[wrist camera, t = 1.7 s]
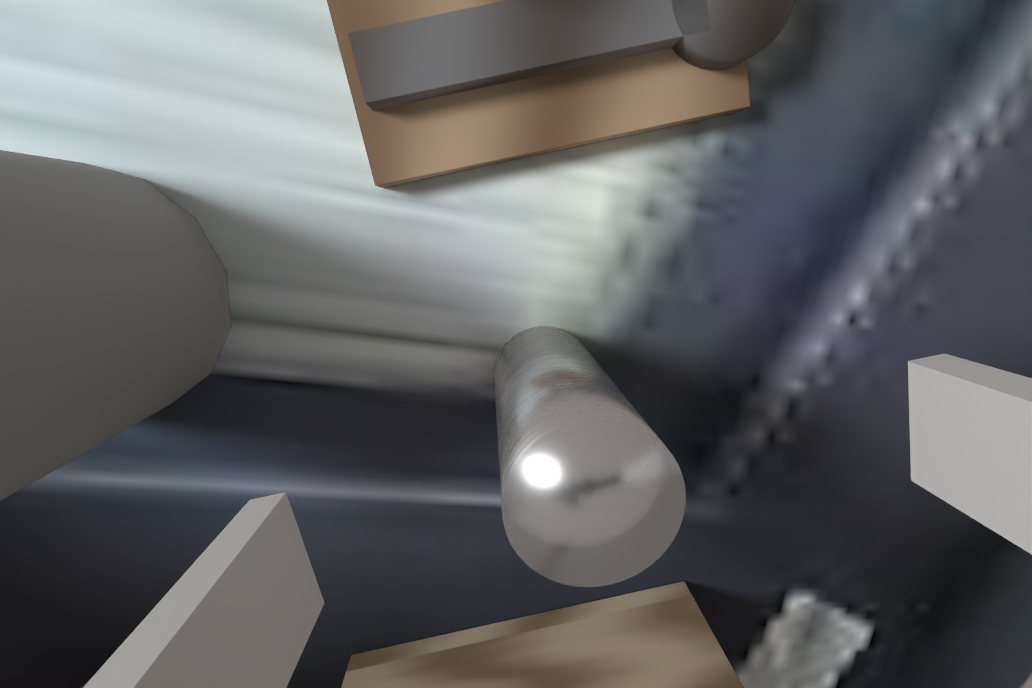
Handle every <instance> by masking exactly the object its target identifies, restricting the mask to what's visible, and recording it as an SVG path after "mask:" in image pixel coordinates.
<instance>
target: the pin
mask: <svg viewBox="0 0 1032 688" xmlns="http://www.w3.org/2000/svg"><path fill="white" fill-rule="evenodd" d="M494 386H495V402H496V419H497V436H498V452H499V469H500V485H501V502H502V517H503V523H504V528H505V531H506V534H507V537H508V539H509V541H510V543H511V545H512V547H513V549H514V550H515V552H516V553H517V554H518V556H519V557H520V558H521V559H522V560H523V561H524V562H525V563H526V564H527V565H528V566H529V567H530V568H532V569H533V570H534V571H536V572H537V573H539V574H540V575H542V576H544V577H546V578H548V579H550V580H552V581H555V582H558V583H562V584H565V585H571V586H578V587H598V586H604V585H610V584H614V583H617V582H621V581H623V580H626V579H628V578H631V577H633V576H635V575H636V574H638V573H640V572H642V571H643V570H645V569H646V568H648V567H649V566H650V565H652V564H653V563H654V562H655V561H656V560H657V559H659V558H660V557H661V555H662V554H663V553H664V552H665V551H666V550H667V549H668V547H669V546H670V544H671V543H672V541H673V540H674V538H675V536H676V534H677V532H678V530H679V528H680V525H681V523H682V520H683V516H684V511H685V503H686V492H685V484H684V479H683V475H682V473H681V470H680V467H679V465H678V463H677V462H676V460H675V458H674V456H673V455H672V454H671V452H670V451H669V450H668V449H667V447H666V446H665V445H664V444H663V442H662V441H661V440H660V439H659V437H658V436H657V435H656V434H655V433H654V431H653V430H652V429H651V428H650V426H649V425H648V424H647V423H646V422H645V420H644V419H643V418H642V417H641V416H640V414H639V413H638V412H637V411H636V409H635V408H634V407H633V406H632V405H631V403H630V402H629V401H628V400H627V398H626V397H625V396H624V395H623V394H622V392H621V391H620V390H619V389H618V387H617V386H616V385H615V384H614V383H613V381H612V380H611V379H610V378H609V376H608V375H607V374H606V373H605V372H604V370H603V369H602V368H601V367H600V365H599V364H598V363H597V362H596V361H595V359H594V358H593V357H592V356H591V354H590V353H589V352H588V351H587V350H586V348H585V347H584V346H583V345H582V344H581V342H580V341H579V340H578V339H577V338H576V337H574V336H573V335H572V334H570V333H568V332H566V331H564V330H562V329H559V328H555V327H548V326H540V327H533V328H530V329H527V330H524V331H522V332H520V333H518V334H517V335H515V336H514V337H513V338H511V339H510V340H509V341H508V342H507V343H506V344H505V345H504V347H503V348H502V350H501V351H500V353H499V355H498V357H497V360H496V363H495V368H494Z"/></svg>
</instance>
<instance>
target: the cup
mask: <svg viewBox="0 0 1032 688" xmlns="http://www.w3.org/2000/svg"><path fill="white" fill-rule="evenodd" d="M230 328H231V318H230V307H229V295H228V284H227V272H226V270H225V268H224V266H223V265H222V263H221V261H220V260H219V258H218V256H217V254H216V253H215V251H214V249H213V247H212V246H211V244H210V242H209V240H208V239H207V237H206V235H205V233H204V232H203V230H202V228H201V226H200V225H199V223H198V221H197V219H196V218H194V217H193V216H192V215H190V214H189V213H188V212H187V211H185V210H184V209H183V208H181V207H180V206H179V205H177V204H176V203H175V202H174V201H172V200H171V199H170V198H168V197H167V196H166V195H165V194H163V193H162V192H161V191H159V190H158V189H157V188H155V187H154V186H153V185H152V184H150V183H149V182H148V181H146V180H145V179H141V178H137V177H134V176H130V175H126V174H122V173H119V172H115V171H111V170H107V169H104V168H100V167H96V166H92V165H89V164H85V163H80V162H73V161H67V160H60V159H54V158H48V157H41V156H35V155H28V154H22V153H15V152H9V151H2V150H0V501H1V500H3V499H5V498H6V497H8V496H10V495H12V494H13V493H15V492H17V491H19V490H21V489H22V488H24V487H26V486H28V485H29V484H31V483H33V482H35V481H36V480H38V479H40V478H42V477H43V476H45V475H47V474H49V473H50V472H52V471H54V470H56V469H57V468H59V467H61V466H63V465H65V464H66V463H68V462H70V461H72V460H73V459H75V458H77V457H79V456H80V455H82V454H84V453H86V452H87V451H89V450H91V449H93V448H94V447H96V446H98V445H100V444H101V443H103V442H105V441H107V440H108V439H110V438H112V437H114V436H116V435H117V434H119V433H121V432H123V431H124V430H126V429H128V428H130V427H131V426H133V425H135V424H137V423H138V422H140V421H142V420H144V419H145V418H147V417H149V416H151V415H152V414H154V413H156V412H158V411H159V410H161V409H163V408H165V407H167V406H168V405H170V404H172V403H173V402H174V401H176V400H177V399H178V398H180V397H181V396H182V395H183V394H185V393H186V392H187V391H189V390H190V389H191V388H192V387H194V386H195V385H196V384H198V383H199V382H200V381H201V380H203V379H204V378H205V377H207V376H208V375H209V374H211V373H212V370H213V368H214V366H215V363H216V361H217V358H218V356H219V354H220V351H221V349H222V347H223V344H224V342H225V340H226V337H227V335H228V333H229V330H230Z"/></svg>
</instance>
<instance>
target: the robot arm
mask: <svg viewBox="0 0 1032 688" xmlns="http://www.w3.org/2000/svg"><path fill="white" fill-rule="evenodd" d="M908 381H909V420H910V458H911V481H913V482H914V483H916V484H918V485H919V486H921V487H923V488H924V489H926V490H927V491H929V492H931V493H932V494H934V495H936V496H937V497H939V498H940V499H942V500H944V501H945V502H947V503H949V504H950V505H952V506H954V507H955V508H957V509H958V510H960V511H962V512H963V513H965V514H967V515H968V516H970V517H971V518H973V519H975V520H976V521H978V522H980V523H981V524H983V525H984V526H986V527H988V528H989V529H991V530H993V531H994V532H996V533H998V534H999V535H1001V536H1002V537H1004V538H1006V539H1007V540H1009V541H1011V542H1012V543H1014V544H1015V545H1017V546H1019V547H1020V548H1022V549H1024V550H1025V551H1027V552H1029V553H1030V554H1032V378H1028V377H1025V376H1021V375H1018V374H1014V373H1011V372H1007V371H1004V370H1000V369H997V368H993V367H990V366H986V365H983V364H979V363H976V362H972V361H969V360H965V359H962V358H958V357H955V356H951V355H948V354H940V355H936V356H931V357H926V358H921V359H917V360H912V361H908ZM323 605H324V601H323V598H322V595H321V592H320V589H319V586H318V583H317V580H316V578H315V575H314V572H313V569H312V566H311V563H310V560H309V557H308V555H307V552H306V549H305V546H304V543H303V540H302V537H301V535H300V532H299V529H298V526H297V523H296V520H295V517H294V514H293V512H292V509H291V506H290V503H289V500H288V497H287V494H286V492H285V493H280V494H275V495H271V496H266V497H261V498H256V499H252V500H249V501H248V502H247V504H246V505H245V506H244V507H243V508H242V509H241V510H240V511H239V513H238V514H237V515H236V516H235V517H234V518H233V519H232V520H231V522H230V523H229V524H228V525H227V526H226V527H225V528H224V529H223V531H222V532H221V533H220V534H219V535H218V536H217V537H216V539H215V540H214V541H213V542H212V543H211V544H210V545H209V546H208V548H207V549H206V550H205V551H204V552H203V553H202V554H201V555H200V557H199V558H198V559H197V560H196V561H195V562H194V563H193V564H192V566H191V567H190V568H189V569H188V570H187V571H186V572H185V573H184V575H183V576H182V577H181V578H180V579H179V580H178V581H177V582H176V584H175V585H174V586H173V587H172V588H171V589H170V590H169V591H168V593H167V594H166V595H165V596H164V597H163V598H162V599H161V600H160V602H159V603H158V604H157V605H156V606H155V607H154V608H153V609H152V611H151V612H150V613H149V614H148V615H147V616H146V617H145V618H144V620H143V621H142V622H141V623H140V624H139V625H138V626H137V627H136V629H135V630H134V631H133V632H132V633H131V634H130V635H129V636H128V638H127V639H126V640H125V641H124V642H123V643H122V644H121V645H120V647H119V648H118V649H117V650H116V651H115V652H114V653H113V654H112V656H111V657H110V658H109V659H108V660H107V661H106V662H105V663H104V665H103V666H102V667H101V668H100V669H99V670H98V671H97V672H96V674H95V675H94V676H93V677H92V678H91V679H90V680H88V681H87V682H86V683H84V684H83V685H82V686H81V687H80V688H286V687H287V685H288V683H289V681H290V679H291V676H292V674H293V672H294V670H295V667H296V665H297V663H298V661H299V659H300V656H301V654H302V652H303V650H304V647H305V645H306V643H307V641H308V638H309V636H310V634H311V632H312V630H313V627H314V625H315V623H316V621H317V618H318V616H319V614H320V612H321V610H322V607H323Z"/></svg>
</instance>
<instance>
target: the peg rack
mask: <svg viewBox="0 0 1032 688" xmlns="http://www.w3.org/2000/svg"><path fill="white" fill-rule="evenodd" d="M327 3H328V6H329V10H330V14H331V18H332V22H333V25H334V29H335V33H336V37H337V41H338V45H339V48H340V52H341V56H342V60H343V64H344V68H345V71H346V75H347V79H348V83H349V87H350V90H351V94H352V98H353V102H354V106H355V110H356V113H357V117H358V121H359V125H360V129H361V133H362V136H363V140H364V144H365V148H366V152H367V155H368V159H369V163H370V167H371V171H372V175H373V178H374V182H375V186H378V187H381V188H383V187H388V186H392V185H397V184H402V183H406V182H411V181H416V180H421V179H425V178H430V177H435V176H439V175H444V174H449V173H454V172H458V171H463V170H468V169H472V168H477V167H482V166H487V165H491V164H496V163H501V162H505V161H510V160H515V159H520V158H524V157H529V156H534V155H538V154H543V153H548V152H553V151H557V150H562V149H567V148H571V147H576V146H581V145H586V144H590V143H595V142H600V141H604V140H609V139H614V138H619V137H623V136H628V135H633V134H637V133H642V132H647V131H652V130H656V129H661V128H666V127H670V126H675V125H680V124H685V123H689V122H694V121H699V120H703V119H708V118H713V117H717V116H722V115H727V114H732V113H736V112H738V111H740V110H742V109H745V108H747V107H749V106H750V97H749V85H748V74H747V63H746V59H748V58H750V57H751V56H753V55H754V54H756V53H757V52H759V51H761V50H762V49H764V48H765V47H766V46H767V45H769V44H770V43H771V42H772V41H773V40H774V39H775V38H776V37H777V35H778V34H779V33H780V32H781V30H782V29H783V27H784V25H785V24H786V22H787V20H788V18H789V16H790V13H791V10H792V7H793V4H794V0H327Z"/></svg>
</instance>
